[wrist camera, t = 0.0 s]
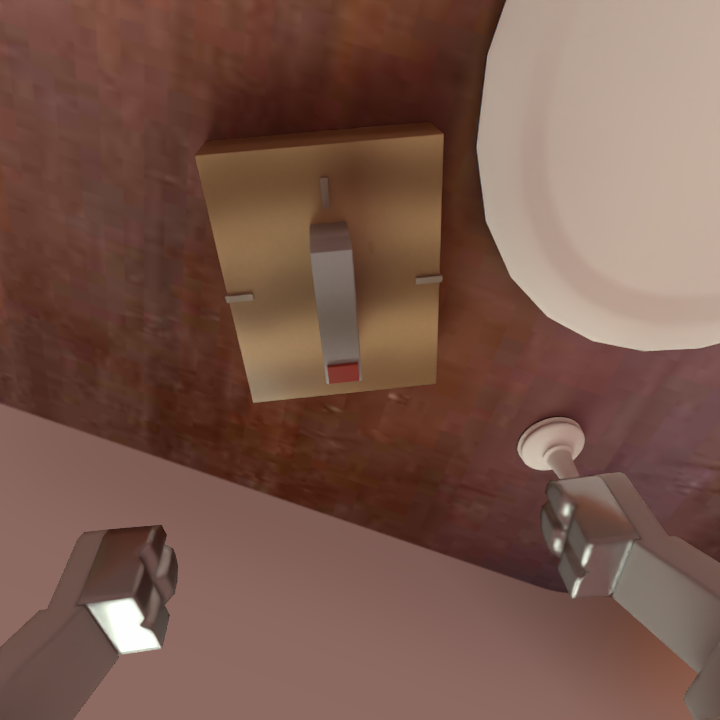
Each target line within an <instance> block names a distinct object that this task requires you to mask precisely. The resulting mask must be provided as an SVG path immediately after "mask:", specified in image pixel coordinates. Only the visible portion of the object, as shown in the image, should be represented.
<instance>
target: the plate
mask: <svg viewBox="0 0 720 720" xmlns="http://www.w3.org/2000/svg"><path fill="white" fill-rule="evenodd" d="M476 153H477V161H478V169H479V177H480V184H481V192H482V200H483V208H484V216H485V221H486V223H487V225H488V228H489V230H490V232H491V234H492V237H493V239H494V241H495V243H496V246H497V248H498V250H499V252H500V255H501V257H502V259H503V261H504V264H505V266H506V268H507V270H508V273H509V275H510V277H511V278H512V279H513V280H514V281H515V282H516V283H517V284H518V286H519V287H520V288H521V289H522V290H523V291H524V292H525V293H526V294H527V295H528V296H529V297H530V299H531V300H532V301H533V302H534V303H535V304H536V305H537V306H538V307H539V308H540V309H541V310H542V312H543V313H544V314H545V315H546V316H547V317H549V318H551V319H552V320H554V321H556V322H558V323H560V324H562V325H564V326H565V327H567V328H569V329H571V330H573V331H575V332H577V333H578V334H580V335H582V336H584V337H586V338H588V339H590V340H591V341H595V342H600V343H605V344H610V345H615V346H620V347H625V348H630V349H636V350H641V351H656V350H675V349H694V348H703V347H707V346H710V345H714V344H718V343H720V0H505V2H504V5H503V8H502V11H501V14H500V16H499V19H498V22H497V25H496V28H495V31H494V34H493V37H492V40H491V43H490V46H489V49H488V51H487V54H486V63H485V71H484V79H483V88H482V96H481V105H480V113H479V121H478V130H477V138H476Z"/></svg>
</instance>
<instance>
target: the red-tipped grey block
mask: <svg viewBox="0 0 720 720" xmlns="http://www.w3.org/2000/svg"><path fill="white" fill-rule="evenodd" d="M309 230H310V259H311V266H312V274H313V282H314V290H315V298H316V306H317V314H318V322H319V330H320V337H321V345H322V353H323V361H324V369H325V377H326V383H327V384H333V383H343V382H353V381H361V380H362V371H361V358H360V345H359V331H358V318H357V305H356V292H355V278H354V265H353V252H352V246H351V240H350V235H349V230H348V225H347V222H346V221H344V222H333V223H322V224H311V225H310V226H309Z"/></svg>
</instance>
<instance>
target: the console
mask: <svg viewBox="0 0 720 720" xmlns="http://www.w3.org/2000/svg"><path fill="white" fill-rule="evenodd" d="M443 142H444V134H443V133H442V132H441V131H440V130H438V129H437V128H436V127H435V126H434V125H433V124H432V123H431V122H422V123H410V124H399V125H387V126H375V127H363V128H352V129H340V130H328V131H316V132H305V133H293V134H281V135H270V136H258V137H246V138H234V139H223V140H211V141H205V143H204V144H203V145H202V147H201V148H200V149H199V150H198V152H197V153H196V154H195V160H196V164H197V169H198V173H199V177H200V181H201V185H202V190H203V194H204V198H205V202H206V206H207V211H208V215H209V219H210V223H211V228H212V232H213V236H214V240H215V244H216V249H217V253H218V257H219V261H220V265H221V270H222V274H223V278H224V282H225V286H226V291H227V295H226V296H225V299H226V303H230V307H231V312H232V316H233V320H234V324H235V329H236V333H237V337H238V341H239V345H240V350H241V354H242V358H243V362H244V366H245V371H246V375H247V379H248V383H249V387H250V392H251V396H252V400H253V403H256V402H265V401H275V400H285V399H294V398H304V397H313V396H323V395H332V394H342V393H352V392H361V391H371V390H380V389H390V388H400V387H409V386H419V385H428V384H436V378H437V345H438V311H439V282H442V275H440V243H441V210H442V176H443ZM344 221H346V222H347V225H348V230H349V235H350V240H351V246H352V252H353V265H354V278H355V292H356V305H357V318H358V331H359V345H360V358H361V371H362V380H361V381H353V382H343V383H333V384H327V383H326V377H325V369H324V361H323V353H322V345H321V337H320V330H319V322H318V314H317V306H316V298H315V290H314V282H313V274H312V266H311V259H310V230H309V226H310V225H311V224H322V223H333V222H344Z"/></svg>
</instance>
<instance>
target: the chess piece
mask: <svg viewBox="0 0 720 720" xmlns="http://www.w3.org/2000/svg"><path fill="white" fill-rule="evenodd" d="M584 442H585V437H584V434H583V432H582V429H581V427H580V425H579V424H578V423H577V422H576V421H574V420H572V419H569V418H565V417H553V418H548V419H545V420H542V421H540V422H537V423H536V424H534V425H532V426H531V427H530V428H528V429H527V430H526V431H525V432H524V433H523V435H522V436H521V438H520V440H519V442H518V453H519V456H520V457H521V458H522V460H523V461H524V463H525V464H526V465H528V466H529V467H531V468H533V469H537V470H552V469H553V470H554V472H555V473H556V474H557V476H558V477H559V478H560V479H564V478H572V477H579V474H578V472H577V469H576V467H575V464H574V462H573V460H574V459H575V458H576V457H577V456H578V455H579V454H580V452H581V451H582V449H583V446H584Z"/></svg>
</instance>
